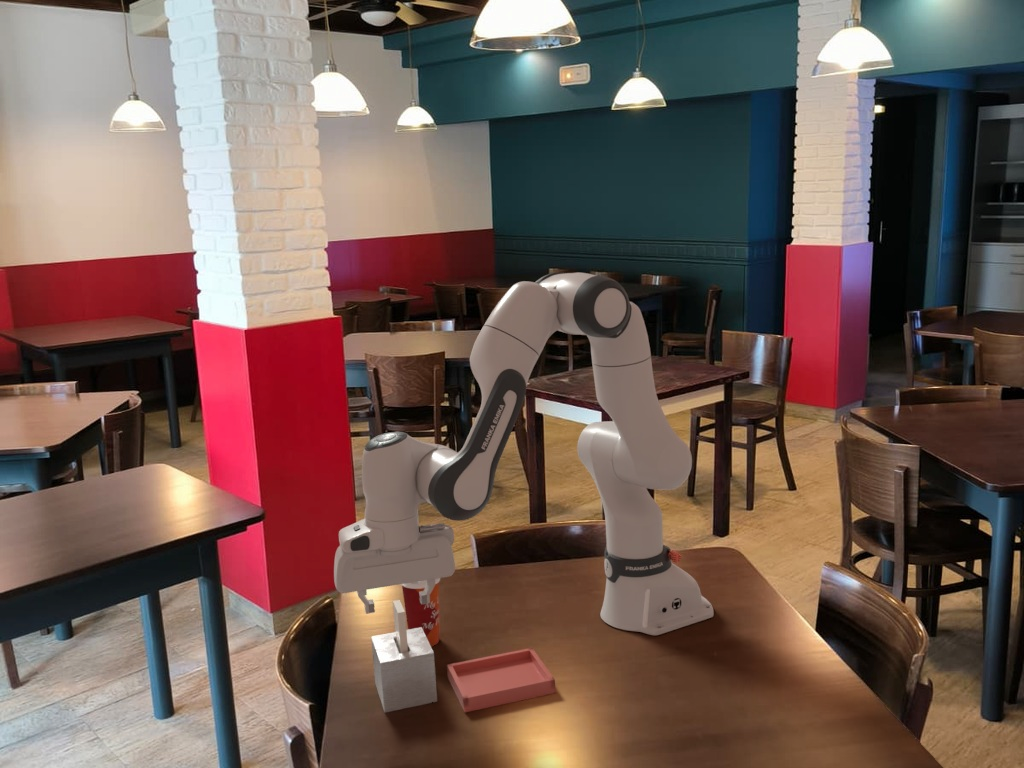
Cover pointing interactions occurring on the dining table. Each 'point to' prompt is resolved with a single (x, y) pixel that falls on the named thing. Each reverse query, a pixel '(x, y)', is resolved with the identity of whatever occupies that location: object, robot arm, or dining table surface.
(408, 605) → the paper cup
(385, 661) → the dispenser
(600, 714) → the dining table surface
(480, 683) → the tray
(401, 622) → the long rectangular block
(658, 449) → the robot arm
